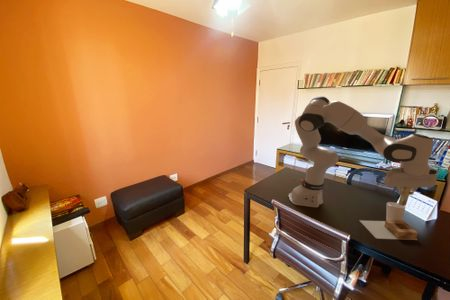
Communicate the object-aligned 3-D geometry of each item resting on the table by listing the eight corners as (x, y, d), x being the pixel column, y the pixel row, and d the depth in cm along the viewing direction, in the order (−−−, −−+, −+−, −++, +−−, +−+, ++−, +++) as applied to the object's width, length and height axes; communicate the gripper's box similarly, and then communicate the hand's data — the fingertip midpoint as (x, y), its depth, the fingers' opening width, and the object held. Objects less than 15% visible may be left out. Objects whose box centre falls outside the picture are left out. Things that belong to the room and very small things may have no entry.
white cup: (381, 218, 112) (383, 202, 110) (393, 217, 112) (395, 201, 111) (394, 225, 104) (396, 208, 103) (407, 224, 104) (409, 207, 103)
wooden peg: (401, 205, 93) (407, 184, 90) (397, 202, 96) (402, 181, 92) (407, 205, 93) (413, 184, 90) (403, 202, 96) (409, 181, 92)
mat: (376, 239, 96) (376, 238, 96) (359, 221, 109) (359, 220, 109) (417, 240, 95) (417, 239, 95) (395, 222, 108) (395, 221, 108)
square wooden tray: (397, 238, 96) (399, 232, 95) (384, 226, 104) (385, 220, 103) (416, 239, 95) (418, 232, 94) (401, 226, 104) (403, 220, 103)
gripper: (393, 171, 87) (386, 197, 91) (443, 171, 84) (434, 197, 89) (384, 165, 93) (378, 190, 97) (430, 165, 90) (422, 191, 95)
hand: (405, 194), depth 93 cm, fingers closed on wooden peg, 3 cm apart
